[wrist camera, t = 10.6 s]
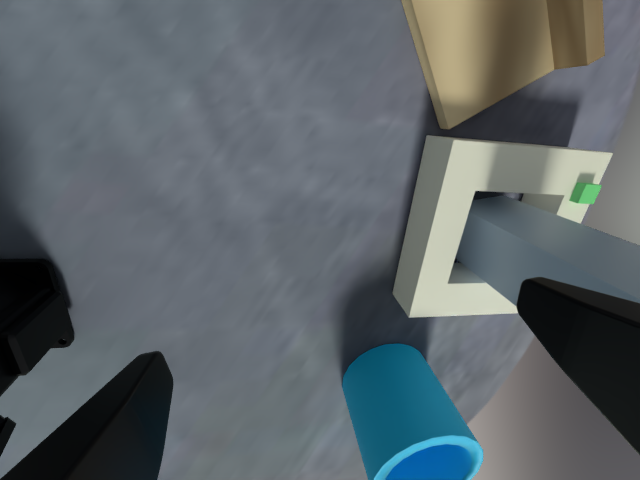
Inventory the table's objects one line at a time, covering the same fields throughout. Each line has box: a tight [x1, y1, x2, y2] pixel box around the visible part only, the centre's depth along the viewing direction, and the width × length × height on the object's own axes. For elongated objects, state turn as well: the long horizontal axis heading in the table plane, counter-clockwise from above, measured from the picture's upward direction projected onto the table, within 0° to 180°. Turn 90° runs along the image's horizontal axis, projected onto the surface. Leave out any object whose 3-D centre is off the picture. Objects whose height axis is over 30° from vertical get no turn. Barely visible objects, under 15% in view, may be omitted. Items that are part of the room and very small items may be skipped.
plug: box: [455, 195, 640, 306], centre depth 16 cm, size 4×4×14 cm
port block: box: [392, 135, 613, 318], centre depth 21 cm, size 11×12×4 cm
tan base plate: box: [401, 0, 605, 129], centre depth 16 cm, size 8×8×3 cm
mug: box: [342, 343, 483, 480], centre depth 25 cm, size 12×8×8 cm
